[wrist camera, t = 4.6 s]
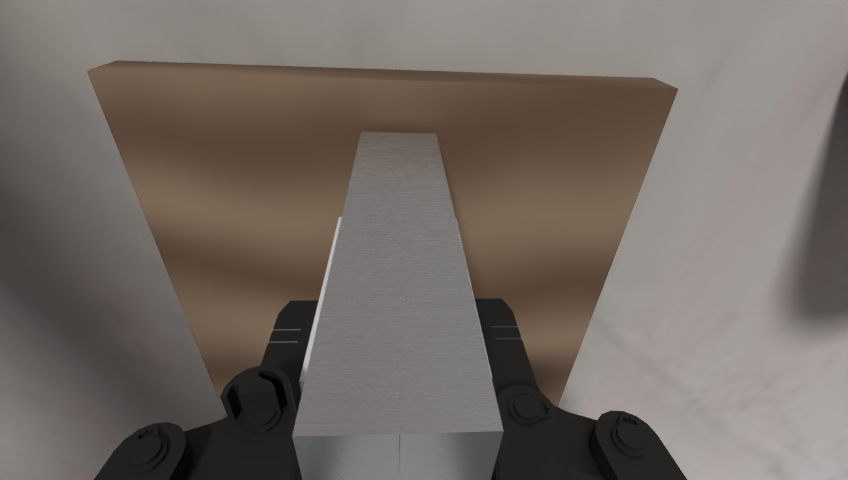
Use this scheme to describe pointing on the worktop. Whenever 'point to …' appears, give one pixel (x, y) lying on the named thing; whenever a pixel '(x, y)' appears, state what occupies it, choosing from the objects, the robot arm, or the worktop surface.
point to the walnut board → (331, 172)
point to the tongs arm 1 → (358, 333)
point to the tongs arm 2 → (439, 333)
